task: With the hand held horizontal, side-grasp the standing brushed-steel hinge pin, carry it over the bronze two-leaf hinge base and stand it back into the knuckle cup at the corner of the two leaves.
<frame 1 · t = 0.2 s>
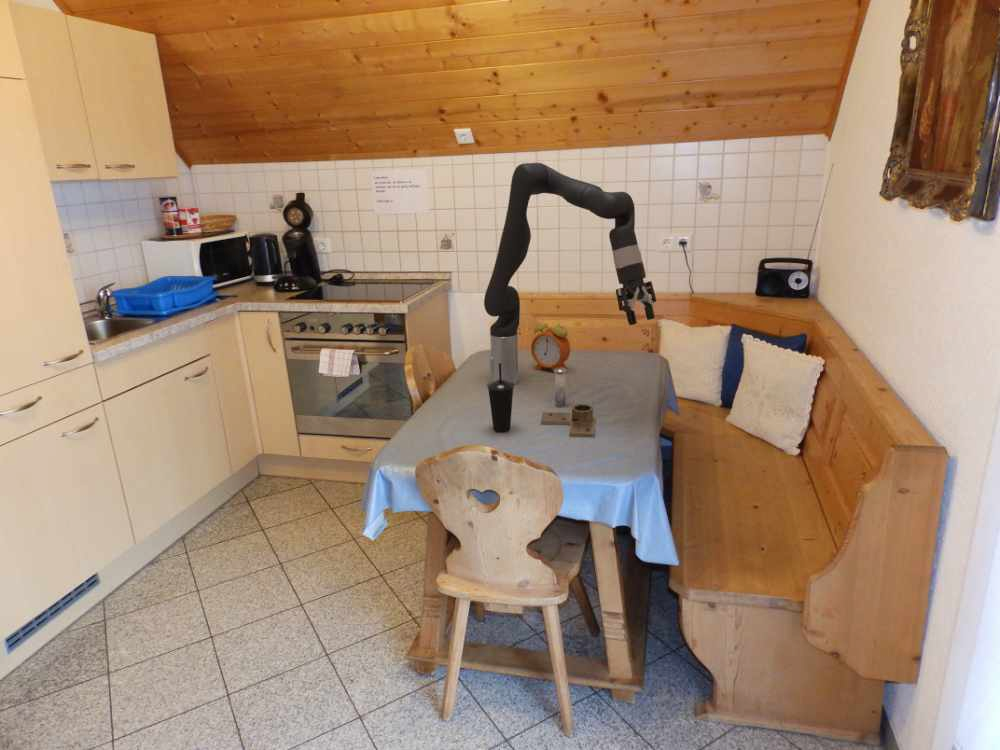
hand: (642, 321, 186), 30 cm above the table, tool tilted 20°, fingers open, 8 cm apart
alarm clock: (550, 370, 246), on the table
hinge base: (582, 420, 199), on the table
drinking cup: (502, 430, 195), on the table
hinge pin: (560, 405, 212), on the table
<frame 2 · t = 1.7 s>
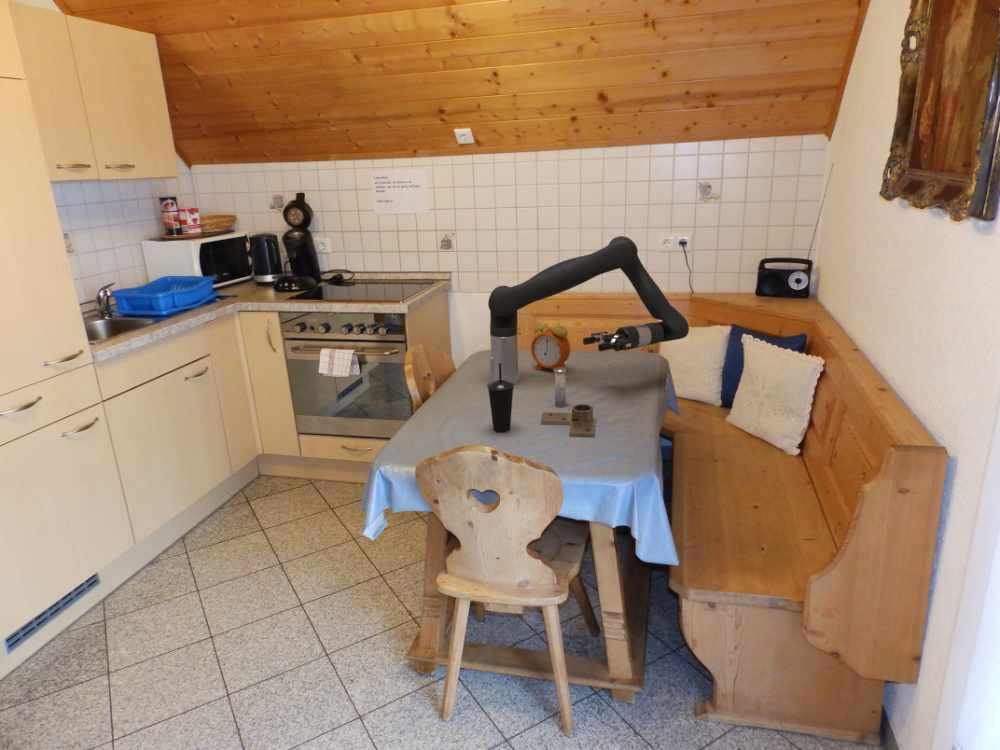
hand: (591, 344, 211), 18 cm above the table, tool horizontal, fingers open, 8 cm apart
nothing on the table moved.
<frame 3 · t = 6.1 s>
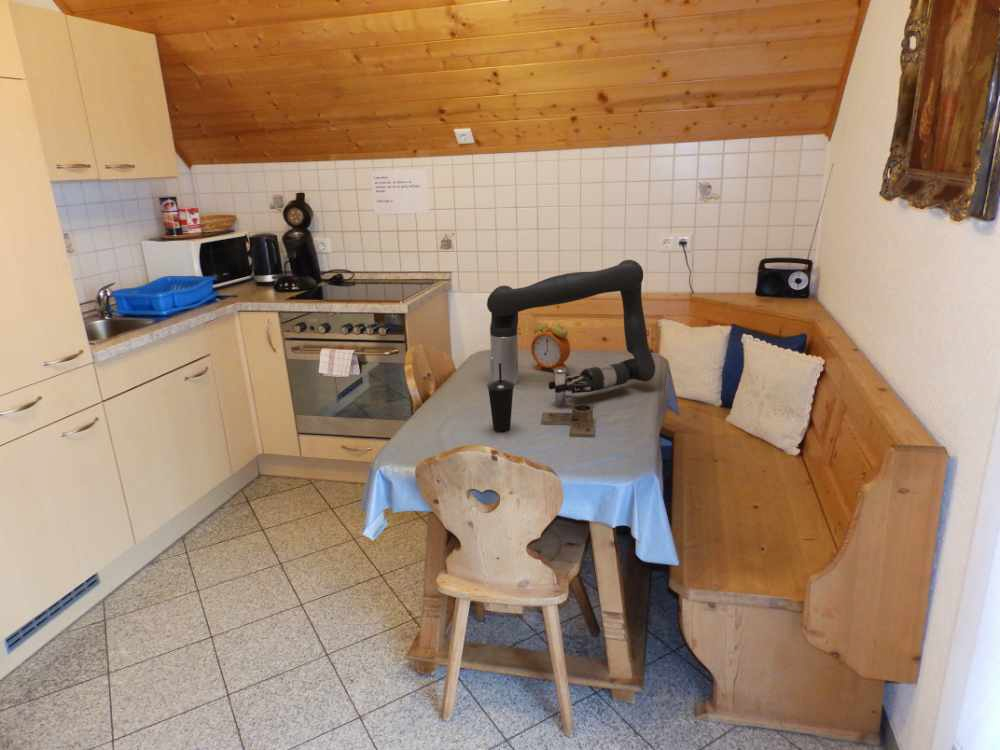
hand: (552, 387, 208), 7 cm above the table, tool horizontal, fingers closed on hinge pin, 3 cm apart
hinge pin: (560, 405, 212), on the table, touching gripper
everything else where it was.
when the fingers open (8 cm above the table, at t = 11.1 s): hinge pin drops 2 cm, resting in hinge base.
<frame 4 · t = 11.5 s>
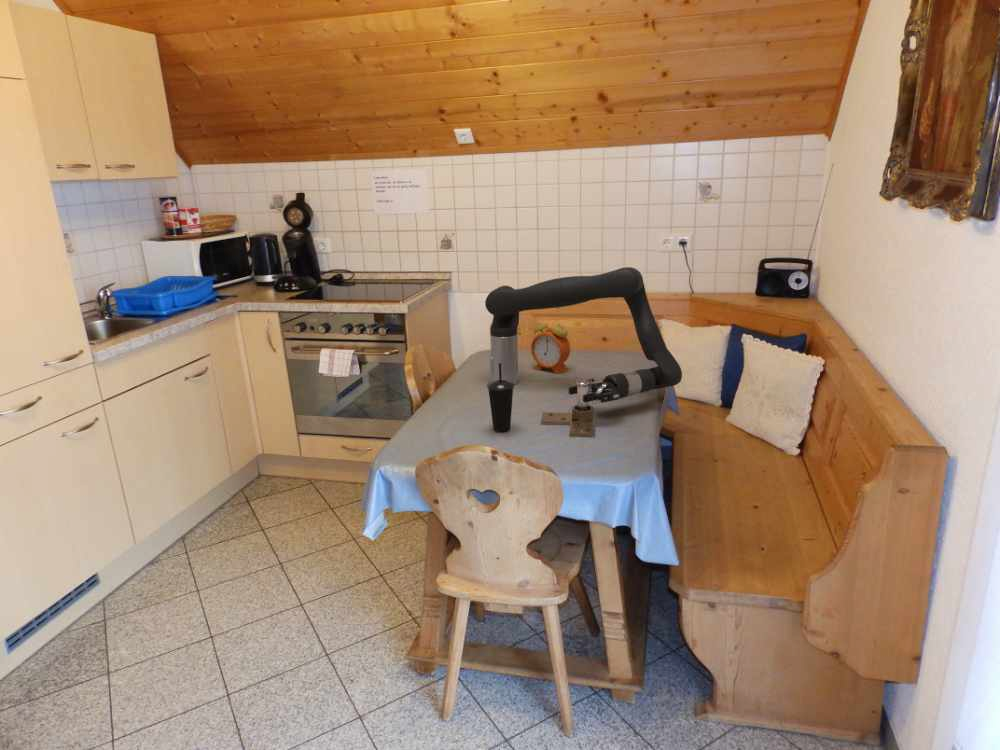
hand: (576, 394, 196), 9 cm above the table, tool horizontal, fingers open, 7 cm apart
hinge pin: (582, 420, 199), resting in hinge base
everything else where it was.
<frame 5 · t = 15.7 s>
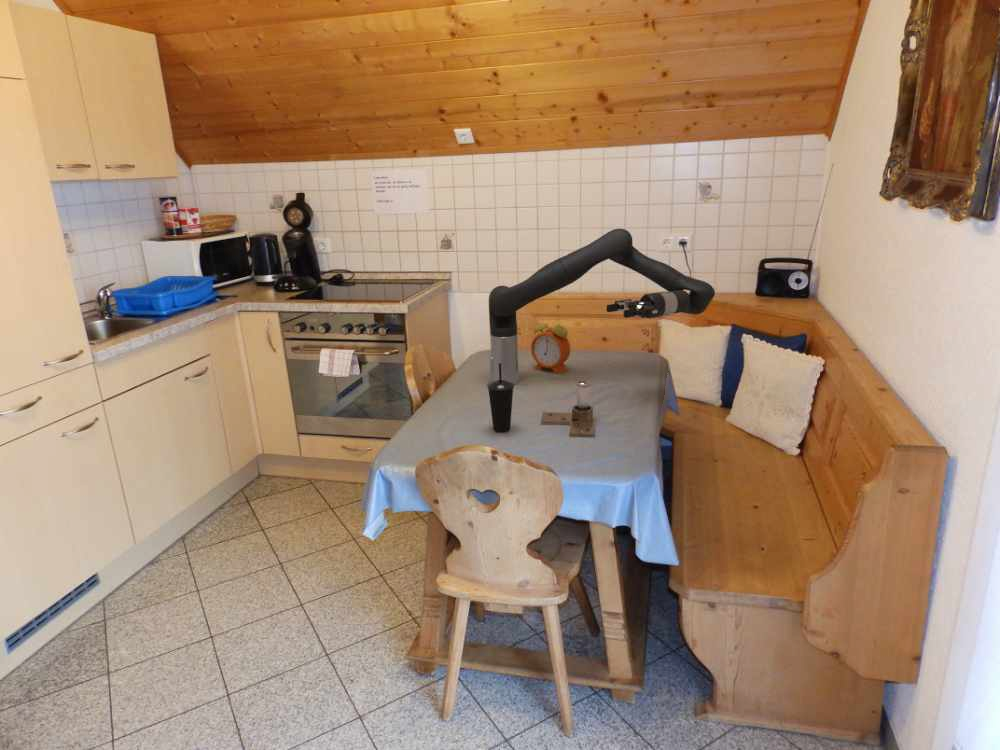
hand: (615, 311, 201), 30 cm above the table, tool horizontal, fingers open, 8 cm apart
nothing on the table moved.
at the end: hinge pin 0.1 cm from the hinge base (horizontally); hinge pin resting in hinge base; hinge pin tilted 0° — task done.
